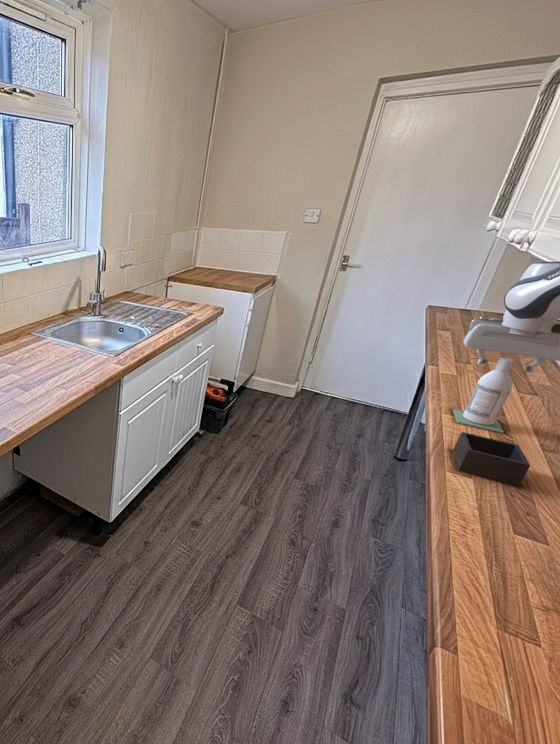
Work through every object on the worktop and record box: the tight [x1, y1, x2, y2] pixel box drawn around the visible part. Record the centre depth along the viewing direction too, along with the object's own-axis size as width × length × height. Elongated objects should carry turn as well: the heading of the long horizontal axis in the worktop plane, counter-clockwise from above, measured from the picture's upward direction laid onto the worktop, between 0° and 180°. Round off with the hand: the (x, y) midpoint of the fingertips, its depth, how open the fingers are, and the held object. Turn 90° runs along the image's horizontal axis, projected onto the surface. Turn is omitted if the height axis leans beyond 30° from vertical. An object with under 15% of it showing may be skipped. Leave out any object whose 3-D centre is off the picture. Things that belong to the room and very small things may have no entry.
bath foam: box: [463, 357, 515, 425], centre depth 121 cm, size 7×7×20 cm
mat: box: [452, 408, 505, 434], centre depth 125 cm, size 10×10×1 cm
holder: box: [452, 431, 531, 487], centre depth 103 cm, size 11×11×6 cm
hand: (503, 367), depth 118 cm, fingers open, 8 cm apart
